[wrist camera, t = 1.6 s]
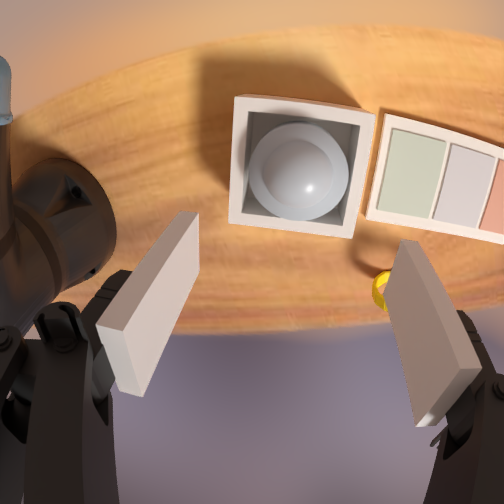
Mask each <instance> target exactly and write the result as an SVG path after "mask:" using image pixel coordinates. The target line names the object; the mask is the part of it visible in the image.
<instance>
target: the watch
mask: <svg viewBox="0 0 504 504" xmlns="http://www.w3.org/2000/svg"><path fill="white" fill-rule="evenodd" d="M390 273H391V271H383V272H382V273H380V274H379V275H377V276H376V277H375V279H374V281H373V284H372V297H373V299H374V302H375V303H376V305H378V306H379V307H380V308H382V309H383V310H384V311H387V312H388V309H387V306H386V303H385V299H384V296H383V295H381V294H380V293H379V292H378V287H380V286H381V285H382V284H383V283H387V281H388V279H389V276H390Z"/></svg>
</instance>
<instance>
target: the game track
mask: <svg viewBox="0 0 504 504" xmlns="http://www.w3.org/2000/svg"><path fill="white" fill-rule="evenodd" d="M365 219H366V220H372V221H378V222H384V223H391V224H397V225H403V226H409V227H415V228H420V229H426V230H432V231H437V232H443V233H448V234H454V235H459V236H464V237H469V238H474V239H479V240H484V241H489V242H494V243H499V244H504V148H501V147H499V146H496V145H493V144H490V143H488V142H485V141H482V140H479V139H476V138H473V137H470V136H467V135H464V134H461V133H458V132H455V131H451V130H448V129H445V128H441V127H438V126H434V125H431V124H427V123H423V122H420V121H416V120H412V119H408V118H404V117H400V116H395V115H391V114H387V113H384V120H383V126H382V133H381V139H380V144H379V150H378V156H377V161H376V166H375V172H374V177H373V182H372V187H371V191H370V196H369V201H368V205H367V210H366V214H365Z"/></svg>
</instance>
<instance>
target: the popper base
mask: <svg viewBox="0 0 504 504" xmlns="http://www.w3.org/2000/svg"><path fill="white" fill-rule="evenodd" d="M375 117H376V115H375V114H373V113H371V112H369V111H367V110H365V109H362V108H357V107H351V106H346V105H340V104H334V103H327V102H321V101H313V100H306V99H298V98H289V97H280V96H269V95H257V94H243V95H239V96H235V99H234V115H233V133H232V152H231V172H230V194H229V218H228V223H231V224H239V225H248V226H256V227H264V228H272V229H280V230H288V231H296V232H304V233H312V234H319V235H327V236H334V237H341V238H349V239H352V237H353V233H354V229H355V224H356V220H357V215H358V211H359V206H360V201H361V196H362V191H363V186H364V181H365V176H366V171H367V166H368V160H369V154H370V149H371V143H372V137H373V130H374V124H375ZM296 120H299V121H307V122H311V123H314V124H317V125H319V126H321V127H322V128H324V129H325V130H327V131H328V132H329V133H330V134H331V135H332V136H333V137H334V139H335V140H336V142H337V143H338V145H339V146H340V148H341V150H342V151H343V153H344V156H345V158H346V161H347V165H348V173H349V177H348V184H347V188H346V190H345V193H344V195H343V197H342V199H341V200H340V201H339V203H338V204H337V205H336V206H335V207H334V208H333V209H332V210H330V211H329V212H328V213H326V214H324V215H323V216H320V217H318V218H315V219H312V220H306V221H292V220H287V219H284V218H281V217H278V216H276V215H274V214H273V213H271V212H269V211H268V210H267V209H265V208H264V207H263V206H262V205H261V204H260V202H259V201H258V200H257V199H256V197H255V195H254V194H253V191H252V189H251V186H250V182H249V163H250V159H251V156H252V154H253V152H254V150H255V148H256V147H257V145H258V143H259V142H260V140H261V139H262V137H263V136H264V135H265V134H266V133H267V132H268V131H269V130H270V129H272V128H273V127H275V126H277V125H279V124H281V123H284V122H288V121H296Z"/></svg>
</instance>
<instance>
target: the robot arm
mask: <svg viewBox="0 0 504 504" xmlns="http://www.w3.org/2000/svg"><path fill="white" fill-rule="evenodd" d="M10 96H11V69H10V66H9V64H8V63H7V61H6V60H5V59H4V58H3V57H1V56H0V504H21V501H22V497H23V493H24V504H119V496H118V487H117V477H116V465H115V452H114V435H113V404H112V403H113V402H112V401H113V400H112V395H111V392H110V389H111V387H112V385H113V383H114V381H116V383H117V386H118V388H119V391H122V392H125V393H129V394H132V395H136V396H140V397H143V396H144V393H145V391H146V389H147V386H148V384H149V382H150V379H151V377H152V375H153V372H154V370H155V368H156V365H157V363H158V361H159V359H160V356H161V354H162V352H163V349H164V347H165V345H166V343H167V341H168V338H169V336H170V334H171V332H172V330H173V327H174V325H175V323H176V321H177V319H178V316H179V314H180V312H181V310H182V308H183V306H184V303H185V301H186V299H187V297H188V295H189V293H190V291H191V288H192V286H193V284H194V282H195V280H196V278H197V276H198V274H199V213H196V212H186V211H180V212H179V213H178V214H177V215H176V217H175V218H174V219H173V220H172V222H171V223H170V224H169V225H168V227H167V228H166V229H165V230H164V232H163V233H162V234H161V235H160V237H159V238H158V239H157V241H156V242H155V243H154V244H153V246H152V247H151V248H150V250H149V251H148V252H147V254H146V255H145V256H144V258H143V259H142V260H141V262H140V263H139V264H138V266H137V267H136V268H135V270H134V271H127V270H119V271H118V272H116V273H115V274H113V275H112V276H110V277H109V278H108V279H107V280H106V281H105V283H104V284H103V285H102V286H101V289H99V290H98V291H97V293H96V294H95V297H93V298H92V299H91V301H90V302H89V303H88V304H87V306H86V307H85V308H84V310H83V311H82V312H81V314H80V311H79V309H78V308H77V307H76V305H74V304H72V303H69V302H61V301H60V302H55V303H51V302H52V301H53V300H54V299H55V298H56V296H57V295H58V294H59V293H61V292H63V291H65V290H67V289H69V288H71V287H73V286H75V285H77V284H79V283H81V282H83V281H85V280H88V279H90V278H91V277H93V276H94V275H96V274H97V273H98V272H99V271H100V270H101V269H102V268H103V266H104V265H105V264H106V263H107V262H108V261H109V259H110V258H111V256H112V254H113V251H114V248H115V244H116V222H115V217H114V213H113V210H112V207H111V205H110V202H109V200H108V198H107V196H106V194H105V192H104V191H103V189H102V188H101V186H100V185H99V183H98V182H97V181H96V180H95V179H94V177H93V176H92V175H91V174H90V173H89V172H87V171H86V170H85V169H84V168H82V167H81V166H79V165H78V164H76V163H74V162H72V161H69V160H66V159H60V158H52V159H47V160H44V161H42V162H40V163H38V164H36V165H34V166H32V167H31V168H29V169H28V170H27V171H25V172H24V173H23V174H22V175H21V177H20V178H19V179H18V180H17V182H16V183H15V184H14V185H13V186H12V185H11V168H10V123H12V121H13V115H12V113H11V111H10V98H11V97H10ZM383 296H384V299H385V303H386V306H387V309H388V313H389V316H390V320H391V324H392V327H393V331H394V335H395V338H396V341H397V346H398V350H399V354H400V358H401V362H402V366H403V370H404V374H405V379H406V383H407V388H408V392H409V397H410V402H411V407H412V412H413V417H414V422H415V427H422V426H435V425H437V424H438V423H439V421H440V420H441V419H442V418H443V417H444V416H445V415H446V418H447V423H448V425H447V426H446V427H445V428H444V429H443V430H442V431H441V432H440V433H439V434H438V435H437V437H435V438H434V439H433V440H432V442H431V444H430V446H431V447H433V446H434V445H435V444H436V443H437V442H438V441H439V440H440V442H439V445H438V447H437V449H438V451H437V456H436V460H435V464H434V468H433V471H432V475H431V479H430V483H429V486H428V490H427V493H426V497H425V499H424V502H423V504H504V375H502V374H498V373H496V371H495V369H494V366H493V364H492V362H491V359H490V357H489V355H488V353H487V351H486V349H485V346H484V344H483V343H481V341H482V340H481V338H480V336H479V334H477V330H476V328H475V326H474V324H473V322H472V320H471V319H470V318H469V317H468V316H467V315H466V314H465V313H464V312H463V311H462V310H456V309H455V307H454V305H453V303H452V301H451V300H450V298H449V296H448V294H447V292H446V290H445V288H444V286H443V284H442V283H441V281H440V279H439V277H438V275H437V274H436V272H435V270H434V268H433V266H432V265H431V263H430V261H429V259H428V258H427V256H426V254H425V253H424V251H423V249H422V248H421V246H420V244H419V243H418V241H411V240H405V239H401V241H400V245H399V248H398V251H397V254H396V257H395V261H394V264H393V267H392V270H391V273H390V276H389V279H388V281H387V284H386V287H385V290H384V293H383ZM33 324H35V327H36V329H37V331H38V333H39V335H40V338H41V340H36V339H24V338H23V337H24V336H25V335H26V333H27V332H28V331H29V329H30V328H31V327H32V326H33ZM9 391H11V392H12V393H11V395H10V397H9V398H8V399H6V398H7V395H8V393H9Z"/></svg>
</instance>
